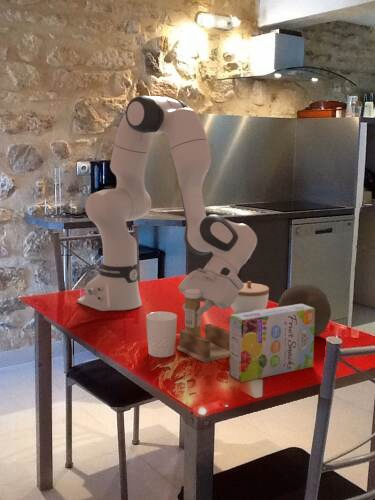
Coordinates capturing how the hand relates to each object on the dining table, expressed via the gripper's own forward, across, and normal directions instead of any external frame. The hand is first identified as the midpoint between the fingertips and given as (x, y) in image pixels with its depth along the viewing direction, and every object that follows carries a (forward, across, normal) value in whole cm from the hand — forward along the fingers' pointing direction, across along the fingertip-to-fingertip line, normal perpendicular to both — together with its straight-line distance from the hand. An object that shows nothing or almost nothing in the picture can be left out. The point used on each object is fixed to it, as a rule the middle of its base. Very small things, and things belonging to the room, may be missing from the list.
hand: (191, 312), depth 161 cm
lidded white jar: (-14, -7, +25) cm, 30 cm away
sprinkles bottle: (+5, 0, +6) cm, 7 cm away
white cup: (+15, +6, -5) cm, 17 cm away
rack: (+8, +12, +3) cm, 14 cm away
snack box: (+5, +31, +6) cm, 32 cm away
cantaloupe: (-13, +18, +24) cm, 33 cm away
